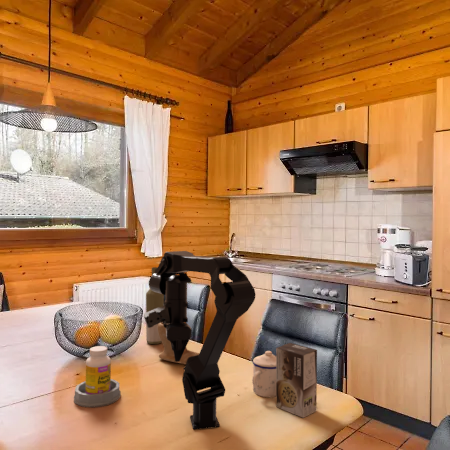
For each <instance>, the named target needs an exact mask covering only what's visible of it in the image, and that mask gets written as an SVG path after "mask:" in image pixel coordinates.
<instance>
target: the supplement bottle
mask: <svg viewBox="0 0 450 450" xmlns="http://www.w3.org/2000/svg"><path fill="white" fill-rule="evenodd" d="M107 354H108V346H104V345H96V346H93V347H90V348H89V357H87V359H86V360H85V381H86V388H85V394H102V393H105V392H109V391H110V379H112V378H111V376H112V375H111V372H112V371H111V370H112V368H111V367H112V366H111V365H112V362H111V361H112V359H111V357H110V356H108V355H107Z"/></svg>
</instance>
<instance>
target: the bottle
mask: <svg viewBox="0 0 450 450" xmlns="http://www.w3.org/2000/svg"><path fill="white" fill-rule="evenodd" d="M157 268H158V267H156V266H155V267H153V266H152V267H151V276H152V275H153V274H155V269H157ZM164 299H165V296H164V295H163V294H160V293H156V292H154V291H152V290H151V289H150V288H149V289H148V290H147V291H146V293H145V313H146V312H149V311H151V310H154V309H156V308H159V307H162V306H164V302H165V300H164ZM145 326H146V328H145V329H146V330H145V331H146V332H145V333H146V335H145V337H146V343H147V344H149V345H159V344H162V341H161V339H160V336H159V333H158V324H156V325H154V326H153V327H150V328H148V326H147V324H146V323H145Z"/></svg>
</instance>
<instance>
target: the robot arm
mask: <svg viewBox="0 0 450 450" xmlns="http://www.w3.org/2000/svg"><path fill="white" fill-rule="evenodd" d="M187 272H195V273H203V274H208V275H209V276H210V289H211V291H212V293H213V295H214V296H215V297H214V300H213V301H214V305H215V309H216V311H215V312H216V313H215V315H214V318H213V320H212V322H211V325H210V328H209V330H208V332H207V335H206V336H205V340H204V342H203V344H202V346H201V349H200V351H199V352H198V353H199V355H196V356H192V357H189V358H188V359H187V362H186V364H185V366H184V367H183V368H182V369H183V372H182V373H183V374H182V379H181V381H182V385H183V392H184V397H185V400H187V404H192V414H191V415H189V419H190V424H191V427H192V429H193V430H194V431H195V430H205V429H215V428H216V429H217V428H221V427H220V426H221V425H220V422H219V420H218V419H219V418H218V417H217V399H218V398H220V397H224V396H225V393H226V387H225V385H224V383H223V381H222V379H221V377H220V373H221V370H220V367H219V361H220V359H221V356H222V354H223V351H224V350H225V347H226V344H227V342H228V340H229V338H230V336H231V334H232V331H233V330H234V327H235V324H236V323H237V321H238V319H239V318H240V317H242V316H243V315H244V314H245V313H247V312H248V311H249V310H250V308H251V306H252V305H253V304H254V302H255V300H256V290H255V287H254V286H253V285H252V282H251V281H250V280H249V278H248V276H247V275H246V274H245V273H244V272H243V271H242V270H240V268H238V267H237V266H235V265H234V263H233V262H232V260H231V259H230V258H229V257H226V256H218V257H217V256H216V257H215V256H201V255H194V253H193V252H190V251H187V250H177V251H176V250H175V251H165V252H164V253H163V256H162V258H161V260H160V262H159V264H158V268H157V269H155V274H153V275H152V274H151V276H150V278H149V280H148V286H149V289H151V290H152V291H154V292H156V293H160V294H163V295H165V300H164V306H162V307H159V308H156V309H154V310H151V311H149V312H146V311H145V312H144V313H143V318H144V321H145V325H146V324H147V326H148V328H150V327H153V326H154V325H156V324H159V323H161V322H163V326H164V327H165V328H166V337H167V340H169V341H170V342H171V347H172V350H173V351H174V357H175V361H176V362H178V361H180V359H181V357H182V354H183V352H184V350H185V348H187V346H188V343H189V341H190V340H191V338H192V333H193V330H192V328H191V326H190V325H189V324H188V322H189V320H188V314H187V313H188V309H187V308H188V307H189V302H188V283H192V279H191V277H189V276H188V274H187ZM220 275H225V276H226V278H228V279H229V280H230V281H226V282H222V280H221V279H220ZM184 322H186V323H184ZM176 362H175V363H176Z"/></svg>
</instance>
